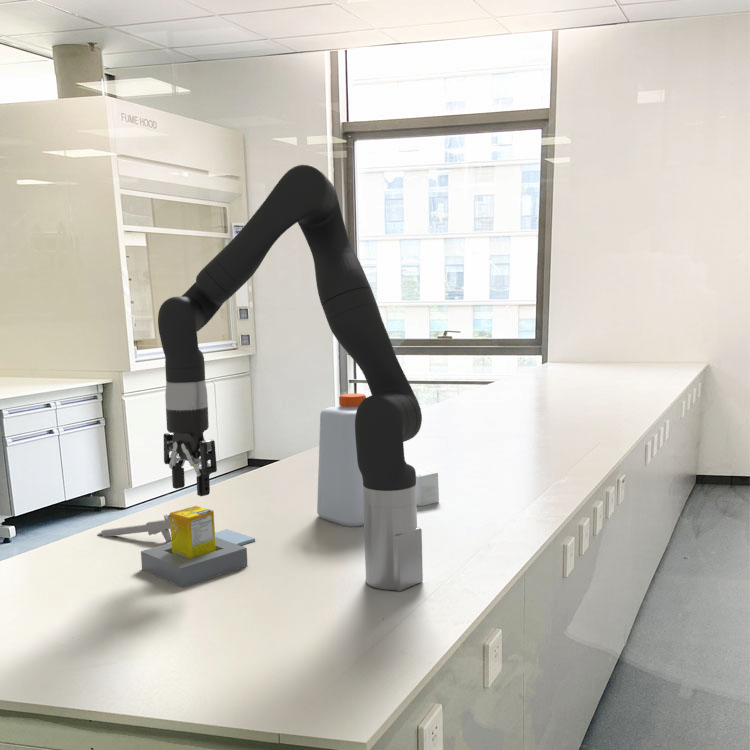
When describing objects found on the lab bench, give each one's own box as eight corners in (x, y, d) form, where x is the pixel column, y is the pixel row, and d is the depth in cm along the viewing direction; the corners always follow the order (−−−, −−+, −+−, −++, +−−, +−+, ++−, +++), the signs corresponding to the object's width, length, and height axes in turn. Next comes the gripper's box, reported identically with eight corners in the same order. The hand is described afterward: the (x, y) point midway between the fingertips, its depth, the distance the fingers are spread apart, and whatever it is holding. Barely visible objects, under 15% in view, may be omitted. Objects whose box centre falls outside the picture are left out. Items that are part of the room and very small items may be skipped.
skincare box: (439, 502, 183) (438, 472, 183) (419, 506, 180) (418, 476, 179) (424, 497, 188) (423, 468, 188) (404, 501, 185) (403, 472, 184)
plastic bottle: (351, 530, 163) (347, 401, 160) (309, 516, 174) (305, 395, 171) (403, 516, 173) (400, 394, 170) (360, 503, 184) (356, 389, 181)
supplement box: (197, 560, 147) (194, 505, 146) (217, 566, 143) (214, 509, 142) (171, 569, 142) (168, 512, 141) (191, 575, 138) (188, 517, 137)
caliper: (179, 543, 158) (177, 513, 158) (176, 544, 157) (174, 515, 157) (100, 535, 166) (98, 507, 165) (97, 536, 165) (95, 508, 164)
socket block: (247, 565, 143) (246, 547, 142) (182, 587, 133) (181, 568, 132) (205, 550, 152) (204, 533, 152) (141, 569, 142) (140, 551, 142)
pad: (255, 541, 157) (255, 538, 157) (214, 553, 150) (214, 550, 150) (227, 531, 164) (227, 529, 164) (186, 543, 157) (186, 540, 157)
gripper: (226, 406, 137) (229, 494, 139) (184, 399, 147) (187, 481, 149) (190, 411, 132) (194, 502, 134) (148, 404, 142) (153, 489, 144)
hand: (190, 491), depth 141 cm, fingers open, 8 cm apart
